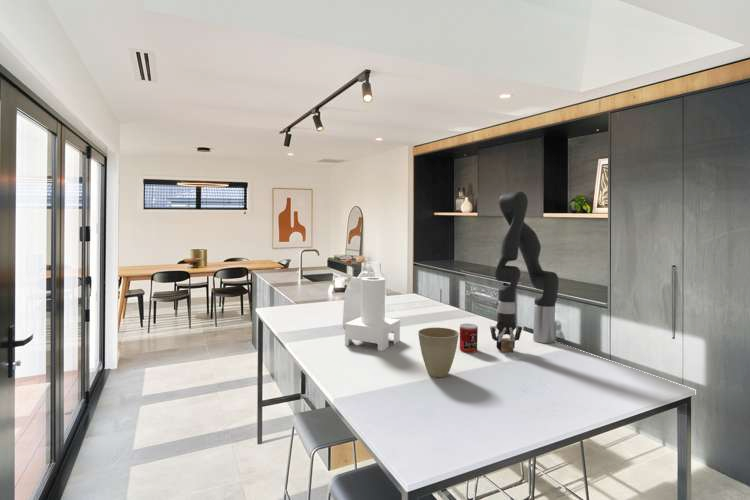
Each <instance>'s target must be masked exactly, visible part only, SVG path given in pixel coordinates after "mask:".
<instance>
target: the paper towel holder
mask: <svg viewBox="0 0 750 500" xmlns="http://www.w3.org/2000/svg"><path fill="white" fill-rule="evenodd" d="M389 334H393V344H394V345H395V344H396V343H398V342H400V341H401V319H397V318H396V319H395V318H388V317H386V278H385V277H382V276H381V277H380V276H368V277H366V276H365V277H361V317H360V318H357V319H355V320H353V321H350V322H348V323H345V328H344V345H345V346H349V345H350V343H352V342H353V341H359V342H366V343H372V344H377V351H379V352H383V351H384V350H386V349H388V348H389Z"/></svg>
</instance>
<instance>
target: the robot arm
mask: <svg viewBox="0 0 750 500" xmlns="http://www.w3.org/2000/svg"><path fill="white" fill-rule="evenodd" d="M528 203H529V202H528V197H527V194H526V193H525V192H523V191H514V192H513V191H512V192H506V193H502V194H501V195H500V196H499V199H498V205H499V208H500V211H501V213H502V215H503V216H504V218H505V220H506V222H507V224H508V226H509V227H508V229H507V230H506V232H505V233H504V236H503V237H502V241H501V249H500V250H501V251H500V257H499V260H498V263H497V266H496V268H495V271H494V278H495V279H496V281H498V282H505V283H510V284H509V286H503V287H502V286H501V287H500V288H498V303H497V315H496V316H497V319H496V322H497V323H496V325H494V326H493V325H491V326H489V330H490V335H491V338H492V340H494V341H496V344H495V345H496V348H497V350H498V351H499V350H501V342H500V341H501V339H502V338H504V336H505V335H508V336H509V338H510V339H511V340H512V341H513V350H515V344H516V341H519V340H520V337H521V334H522V330H523V327H522V326H521V325H516V312H517V310H516V292H517V287H518V283H519V281H520V279H521V274H522V273H521V270H520V268H519V267H518V266H517V265H516V266H515V265H507V264H508V263H509V262H514V261H516V260H518V257H519V251H520V253H521V255H522V258H523V261H524V263H525V265H526V269H527V272H528V275H529V276H528V277H529V279H530V282H531V285H532V286H533V287H534V288H535V289H537V290H539V291H542V295H541V296H537V297H536V298H534V302H533V303H534V308H533V309H534V310H533V311H534V313H533V334H532V336H533V337H532V340H533V341H534V342H537V343H541V344H551V343H556V341H557V323H558V322H557V321H555V319H556V304H557V303H556V302H557V300H558V294H559V293H558V292H559V285H560V282H559V276H558V275H557V273H556V272H554V271H548V270H543V268H542V267H541V264H540V261H539V257H540V254H541V249H542V248H541V242H540V240H539V238H538V235H537V233H536V232H535V231H534V230H533V229H532V228H531V227H530V225H528V224H527V223H526V222H525V217H526V213H527V209H528V206H529V205H528ZM514 331H515V334H514ZM496 332H497V335H496Z"/></svg>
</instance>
